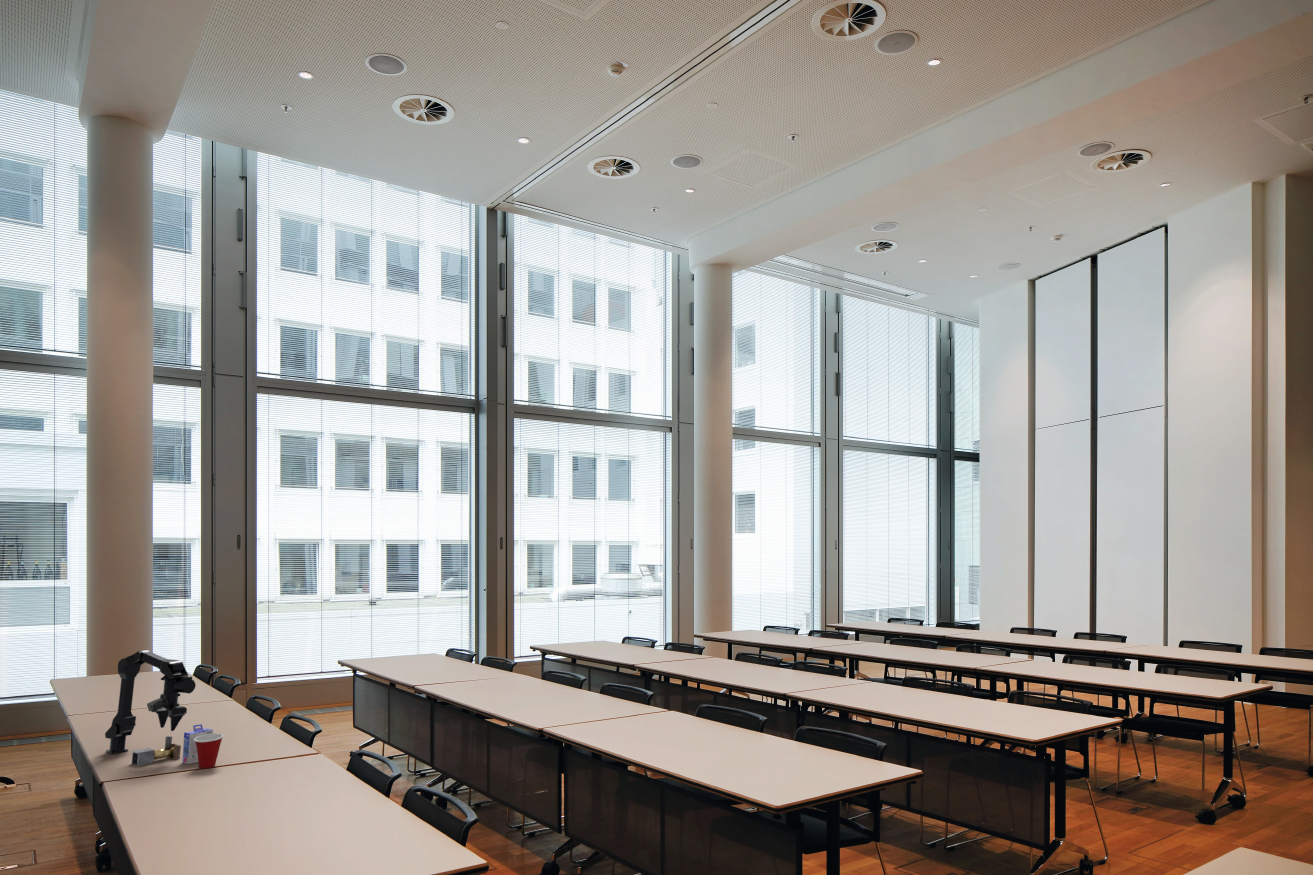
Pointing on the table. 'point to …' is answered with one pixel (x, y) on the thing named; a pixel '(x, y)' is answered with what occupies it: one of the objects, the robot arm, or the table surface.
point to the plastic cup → (208, 749)
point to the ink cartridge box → (193, 743)
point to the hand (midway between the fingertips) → (167, 729)
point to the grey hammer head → (142, 756)
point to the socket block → (176, 751)
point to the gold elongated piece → (165, 750)
